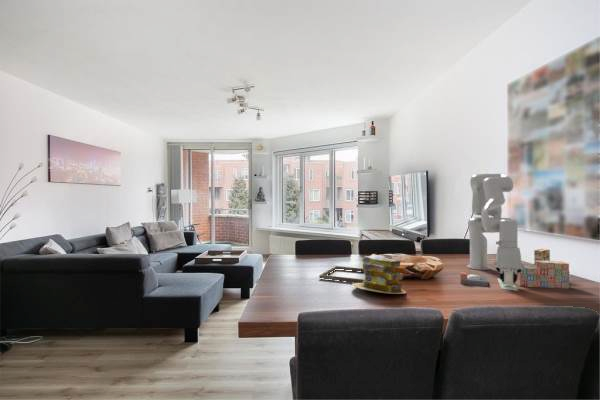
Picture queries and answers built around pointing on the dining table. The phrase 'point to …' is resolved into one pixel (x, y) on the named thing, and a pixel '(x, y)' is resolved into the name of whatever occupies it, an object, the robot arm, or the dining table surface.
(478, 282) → the grey stepped block
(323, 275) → the frame
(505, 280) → the pawn
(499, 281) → the track
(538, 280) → the stack of blocks
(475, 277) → the dome
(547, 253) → the candy box
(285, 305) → the dining table surface
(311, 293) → the dining table surface
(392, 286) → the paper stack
